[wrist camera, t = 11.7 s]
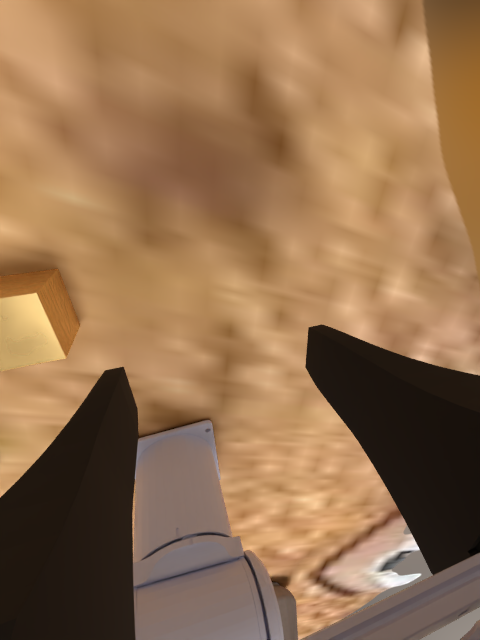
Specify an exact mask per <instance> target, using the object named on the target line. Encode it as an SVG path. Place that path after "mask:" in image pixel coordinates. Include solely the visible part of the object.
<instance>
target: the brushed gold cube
mask: <svg viewBox="0 0 480 640" xmlns="http://www.w3.org/2000/svg"><path fill="white" fill-rule="evenodd" d="M79 327H80V324H79V321H78V319H77V316H76V314H75V311H74V308H73V306H72V303H71V301H70V298H69V296H68V293H67V291H66V288H65V286H64V283H63V281H62V278H61V276H60V273H59V270H58V269H53V270H45V271H38V272H30V273H23V274H15V275H8V276H0V371H5V370H10V369H15V368H20V367H25V366H30V365H35V364H40V363H45V362H50V361H55V360H60V359H65V358H66V357H67V355H68V353H69V350H70V348H71V346H72V343H73V341H74V338H75V336H76V334H77V331H78V329H79Z"/></svg>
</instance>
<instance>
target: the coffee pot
mask: <svg viewBox="0 0 480 640" xmlns="http://www.w3.org/2000/svg"><path fill="white" fill-rule="evenodd" d="M272 584H273V587H274V591H275V594H276V598H277V602H278V606H279V610H280V615H281V621H282V627H283V634H284V640H298V632H297V613H296V600H295V598H294V596H293V595H292V594H291V592H290V591H289V590H287V589H286V588H284V587H282V586H280V585H279V583H276V582H272Z"/></svg>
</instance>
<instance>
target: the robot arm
mask: <svg viewBox="0 0 480 640" xmlns="http://www.w3.org/2000/svg"><path fill="white" fill-rule="evenodd" d="M306 369H307V371H308V372H309V374H310V376H311V378H312V380H313V381H314V383H315V385H316V386H317V388H318V389H319V390H320V392H321V393H322V394H323V396H324V397H325V398H326V400H327V401H328V402H329V403H330V405H331V406H332V407H333V409H334V410H335V411H336V412H337V414H338V415H339V416H340V418H341V419H342V420H343V421H344V423H345V424H346V425H347V426H348V428H349V429H350V430H351V432H352V433H353V434H354V436H355V437H356V439H357V440H358V442H359V443H360V445H361V446H362V448H363V449H364V451H365V453H366V454H367V456H368V457H369V459H370V461H371V462H372V464H373V465H374V467H375V469H376V470H377V472H378V474H379V475H380V477H381V479H382V480H383V482H384V484H385V486H386V487H387V489H388V491H389V492H390V494H391V496H392V498H393V500H394V501H395V503H396V505H397V507H398V509H399V511H400V512H401V514H402V516H403V518H404V520H405V521H406V523H407V525H408V527H409V529H410V531H411V533H412V535H413V537H414V539H415V541H416V543H417V545H418V547H419V549H420V550H421V552H422V554H423V557H424V559H425V560H426V563H427V565H428V567H429V569H430V571H431V573H432V574H433V576H431V577H429V578H427V579H424V580H422V581H420V582H418V583H416V584H414V585H412V586H410V587H408V588H406V589H404V590H402V591H400V592H398V593H396V594H394V595H392V596H389V597H388V598H386V599H383V600H381V601H379V602H377V603H375V604H373V605H371V606H369V607H367V608H365V609H363V610H361V611H359V612H356V613H355V614H352V615H351V616H349V617H346V618H344V619H342V620H340V621H338V622H336V623H334V624H332V625H330V626H328V627H326V628H323V629H321V630H319V631H317V632H315V633H313V634H311V635H309V636H307V637H305V638H303V639H301V640H420V639H421V638H423V637H425V636H427V635H429V634H431V633H432V632H435V631H436V630H438V629H440V628H442V627H444V626H446V625H447V624H449V623H451V622H453V621H455V620H457V619H459V618H460V617H462V616H464V615H466V614H467V613H470V612H471V611H473V610H475V609H477V608H479V607H480V376H479V375H474V374H469V373H465V372H460V371H456V370H451V369H447V368H443V367H439V366H435V365H432V364H428V363H425V362H422V361H418V360H415V359H411V358H408V357H405V356H402V355H399V354H397V353H394V352H391V351H388V350H385V349H383V348H380V347H378V346H375V345H373V344H370V343H368V342H365V341H363V340H360V339H358V338H355V337H353V336H351V335H348V334H346V333H343V332H341V331H338V330H336V329H333V328H331V327H328V326H325V325H318V326H313V327H309V330H308V342H307V355H306ZM208 428H209V429H208ZM135 480H136V489H135V520H134V552H133V538H132V510H133V493H134V482H135ZM219 480H220V472H219V466H218V459H217V452H216V446H215V439H214V432H213V426H212V422H211V421H210V420H205V421H201V422H198V423H194V424H190V425H187V426H183V427H179V428H175V429H172V430H168V431H164V432H161V433H157V434H153V435H150V436H146V437H142V438H138V412H137V406H136V403H135V400H134V397H133V394H132V391H131V388H130V385H129V382H128V379H127V376H126V373H125V370H124V367H120V368H115V369H110V370H106V371H104V373H103V374H102V376H101V377H100V378H99V380H98V381H97V383H96V384H95V386H94V387H93V389H92V390H91V392H90V393H89V394H88V396H87V397H86V399H85V400H84V402H83V403H82V404H81V406H80V407H79V409H78V410H77V411H76V413H75V414H74V415H73V417H72V418H71V420H70V421H69V422H68V423H67V425H66V426H65V427H64V429H63V430H62V431H61V432H60V434H59V435H58V436H57V437H56V439H55V440H54V441H53V442H52V444H51V445H50V446H49V447H48V448H47V449H46V451H45V452H44V453H43V454H42V455H41V456H40V457H39V459H38V460H37V461H36V462H35V463H34V464H33V465H32V466H31V467H30V468H29V469H28V470H27V471H26V473H25V474H24V475H23V476H22V477H21V478H20V479H19V480H18V481H17V482H16V483H15V484H14V485H13V486H12V487H11V488H10V489H9V490H8V491H7V492H6V493H5V494H4V495H3V496H1V497H0V640H284V634H283V627H282V621H281V615H280V610H279V606H278V602H277V598H276V594H275V591H274V587H273V584H272V582H271V579H270V576H269V574H268V572H267V569H266V568H265V566H264V564H263V563H262V561H261V560H260V559H259V558H258V557H257V556H256V555H255V554H254V553H253V552H252V551H250V550H247V551H244V552H243V548H242V544H241V540H240V537H239V536H237V537H232V532H231V528H230V524H229V520H228V515H227V511H226V507H225V503H224V498H223V494H222V490H221V486H220V481H219ZM460 640H480V620H479V621H477V622H476V623H475V625H474V626H473V627H472V629H471V630H470V631H469V632H468V633H467V634H466V635H464V637H462V638H461V639H460Z"/></svg>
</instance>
